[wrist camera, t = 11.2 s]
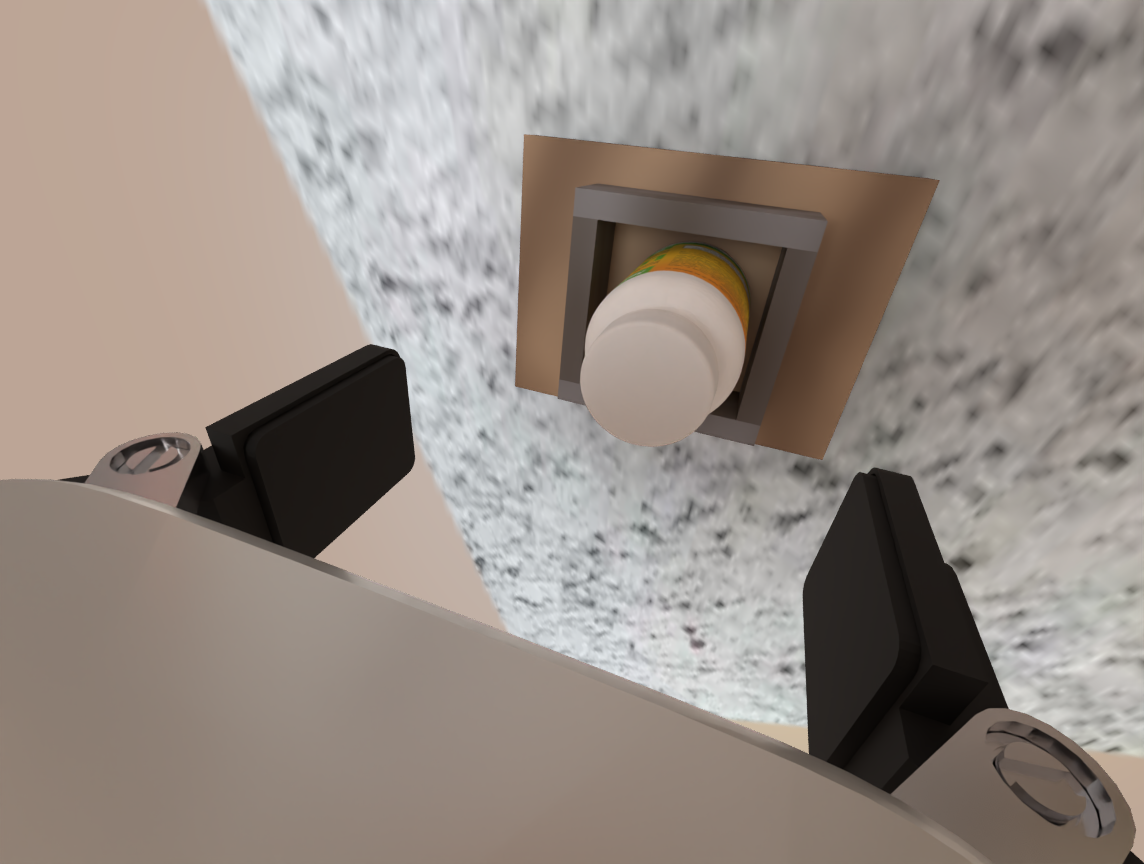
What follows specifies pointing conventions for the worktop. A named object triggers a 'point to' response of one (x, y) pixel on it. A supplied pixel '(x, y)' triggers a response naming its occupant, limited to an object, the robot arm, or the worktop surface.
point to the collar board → (747, 234)
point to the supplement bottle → (667, 345)
